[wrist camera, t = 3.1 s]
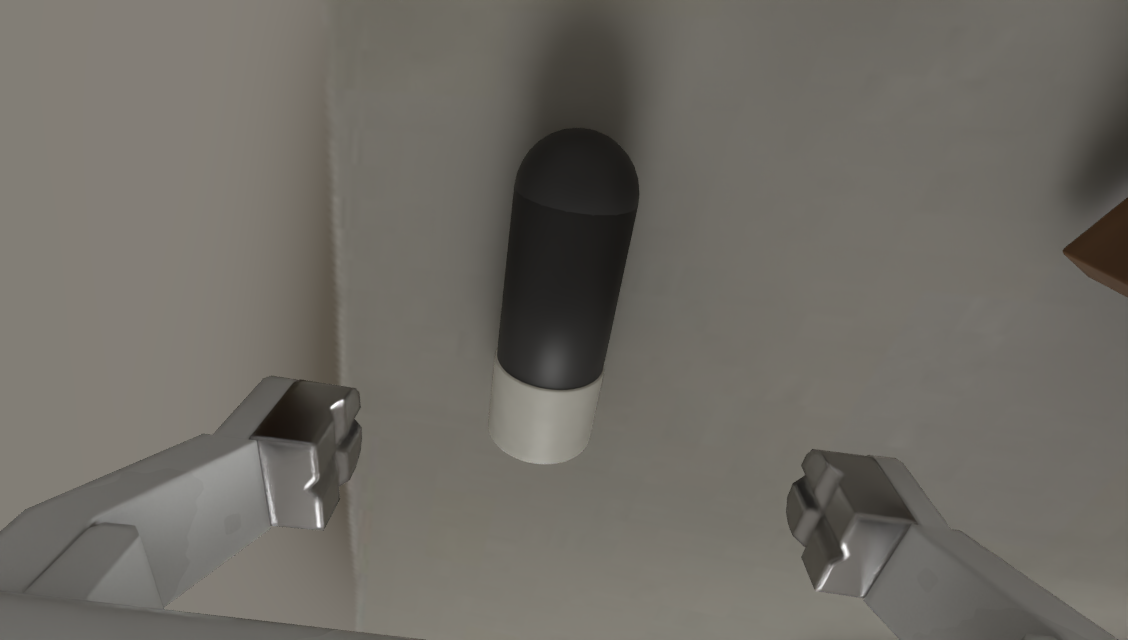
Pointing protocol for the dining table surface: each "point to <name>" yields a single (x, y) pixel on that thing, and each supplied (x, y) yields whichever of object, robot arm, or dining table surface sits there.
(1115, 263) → the drawer
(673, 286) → the dining table surface
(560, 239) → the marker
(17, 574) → the robot arm
